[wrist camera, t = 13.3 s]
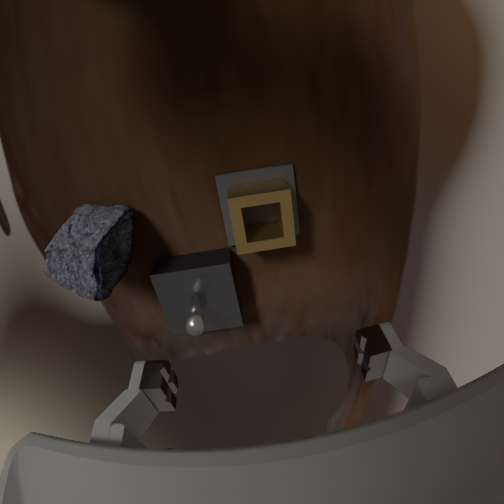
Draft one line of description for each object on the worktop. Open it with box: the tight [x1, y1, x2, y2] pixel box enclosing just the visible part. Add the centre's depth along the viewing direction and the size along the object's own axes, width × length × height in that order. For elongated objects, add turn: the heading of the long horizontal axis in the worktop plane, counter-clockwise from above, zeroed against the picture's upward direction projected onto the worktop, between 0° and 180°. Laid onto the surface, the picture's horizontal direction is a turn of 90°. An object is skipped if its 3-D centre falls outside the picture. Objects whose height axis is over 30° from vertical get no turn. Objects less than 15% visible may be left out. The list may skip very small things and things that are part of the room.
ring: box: [227, 177, 296, 255], centre depth 33 cm, size 6×6×5 cm
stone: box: [45, 204, 135, 301], centre depth 32 cm, size 12×10×10 cm
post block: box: [149, 247, 243, 336], centre depth 37 cm, size 10×10×9 cm
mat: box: [215, 164, 300, 246], centre depth 36 cm, size 9×9×1 cm
